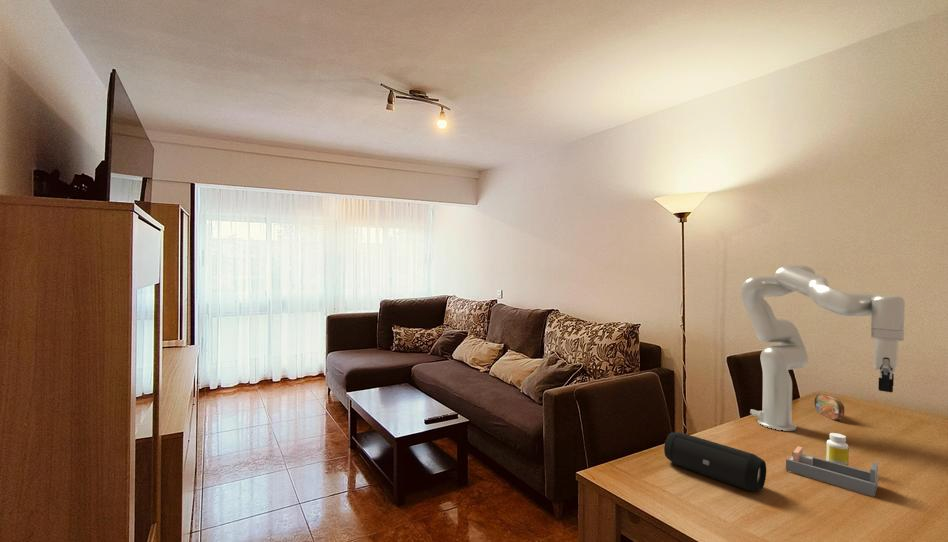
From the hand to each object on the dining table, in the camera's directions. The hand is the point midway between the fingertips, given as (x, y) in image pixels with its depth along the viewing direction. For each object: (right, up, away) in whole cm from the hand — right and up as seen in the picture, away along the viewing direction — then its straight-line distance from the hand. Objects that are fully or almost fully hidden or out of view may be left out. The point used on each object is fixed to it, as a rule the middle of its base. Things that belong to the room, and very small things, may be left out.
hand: (886, 388), depth 136 cm
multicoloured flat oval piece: (+20, -25, +46) cm, 56 cm away
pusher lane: (-24, -25, -8) cm, 36 cm away
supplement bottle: (-16, -25, 0) cm, 29 cm away
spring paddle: (-29, -23, -3) cm, 37 cm away
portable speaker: (-59, -25, -7) cm, 64 cm away
